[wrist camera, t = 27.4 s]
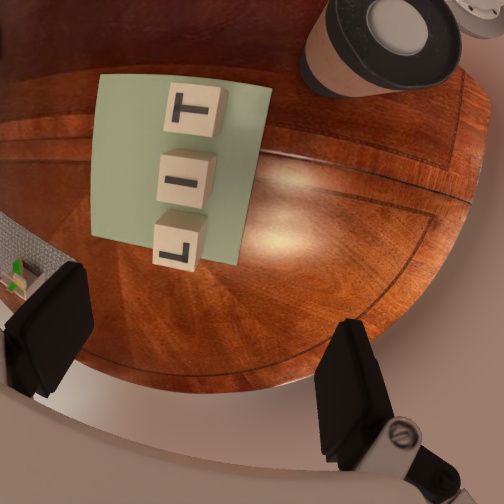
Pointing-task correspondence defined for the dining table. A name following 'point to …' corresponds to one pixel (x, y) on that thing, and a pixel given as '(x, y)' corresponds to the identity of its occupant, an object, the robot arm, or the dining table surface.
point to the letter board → (158, 142)
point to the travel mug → (380, 47)
